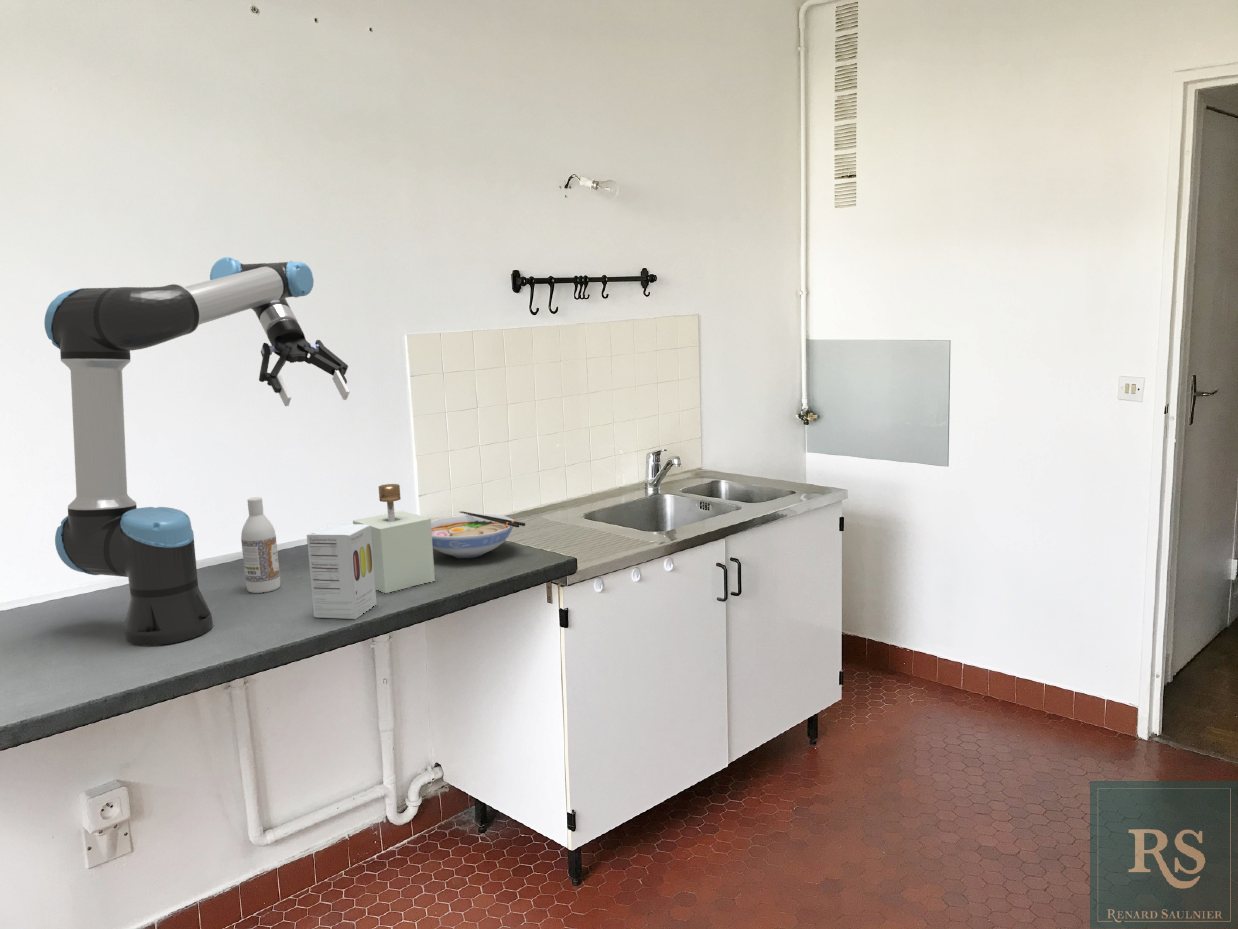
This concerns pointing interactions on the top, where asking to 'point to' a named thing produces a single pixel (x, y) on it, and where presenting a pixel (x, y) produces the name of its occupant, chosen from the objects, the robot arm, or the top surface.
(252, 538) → the bath foam
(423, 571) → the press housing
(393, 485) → the plunger
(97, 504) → the robot arm
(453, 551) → the ramen bowl
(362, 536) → the supplement box
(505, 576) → the top surface
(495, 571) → the top surface
